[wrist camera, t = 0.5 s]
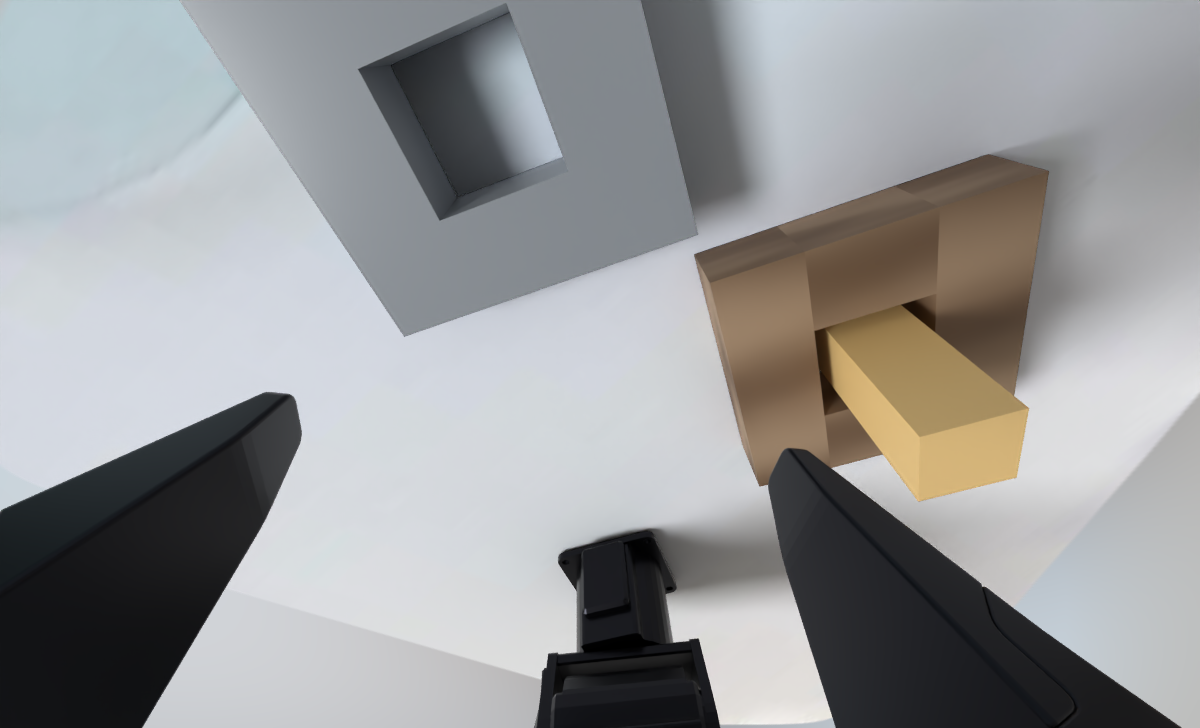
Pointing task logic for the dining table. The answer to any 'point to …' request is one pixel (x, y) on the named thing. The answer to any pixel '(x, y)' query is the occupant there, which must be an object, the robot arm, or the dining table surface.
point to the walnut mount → (871, 296)
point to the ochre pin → (923, 403)
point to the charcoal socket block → (410, 167)
